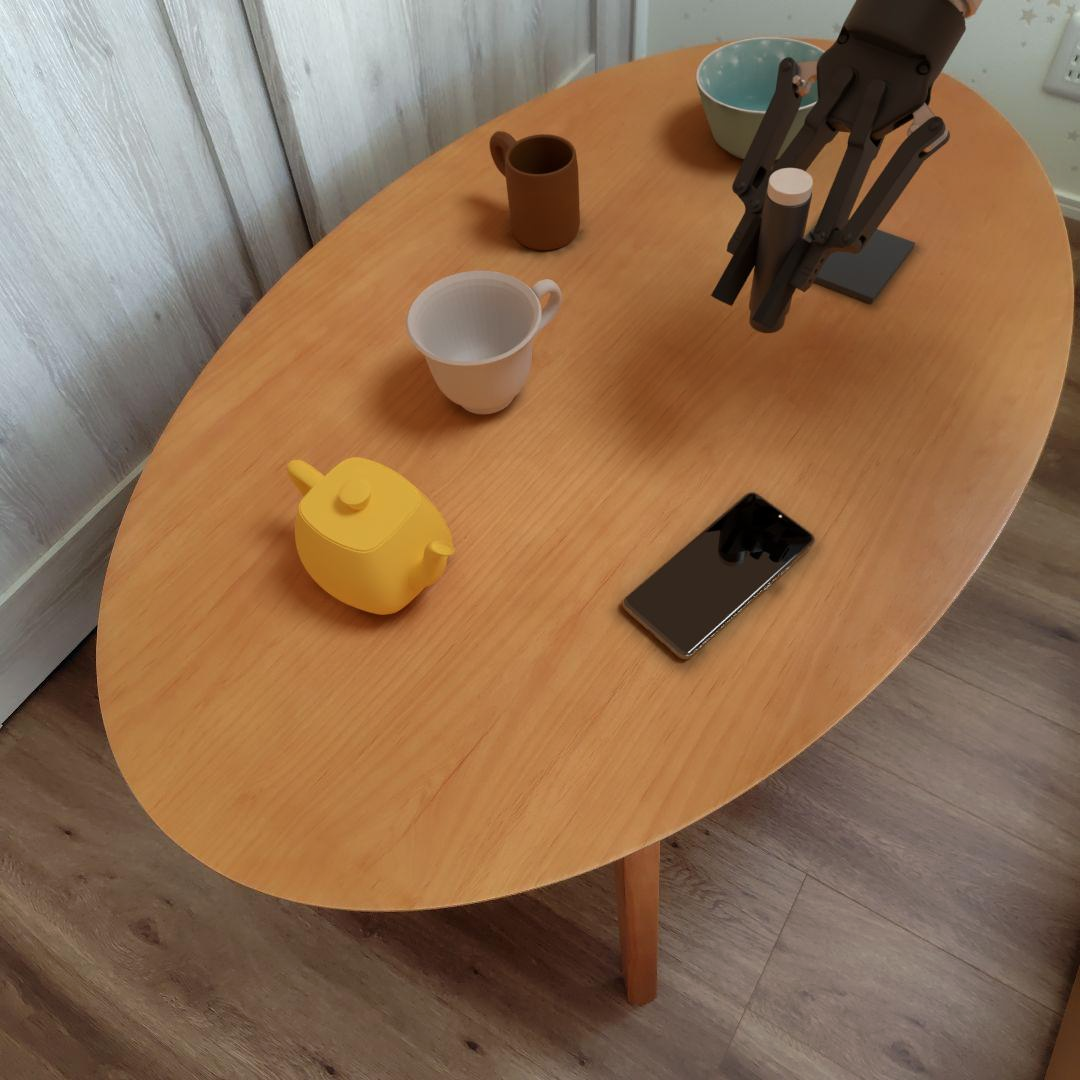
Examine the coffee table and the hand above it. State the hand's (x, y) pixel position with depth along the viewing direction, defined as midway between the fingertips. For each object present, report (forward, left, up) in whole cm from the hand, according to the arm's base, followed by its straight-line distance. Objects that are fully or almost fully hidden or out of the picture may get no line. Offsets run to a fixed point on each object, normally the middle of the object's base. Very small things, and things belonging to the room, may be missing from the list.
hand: (742, 311), depth 72 cm
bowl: (+20, -43, -16) cm, 50 cm away
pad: (+2, -29, -16) cm, 34 cm away
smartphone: (-7, +12, -16) cm, 21 cm away
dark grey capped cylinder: (-1, -4, -4) cm, 5 cm away
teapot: (+17, +27, -16) cm, 36 cm away
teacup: (+22, +5, -16) cm, 28 cm away
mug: (+34, -17, -16) cm, 41 cm away
